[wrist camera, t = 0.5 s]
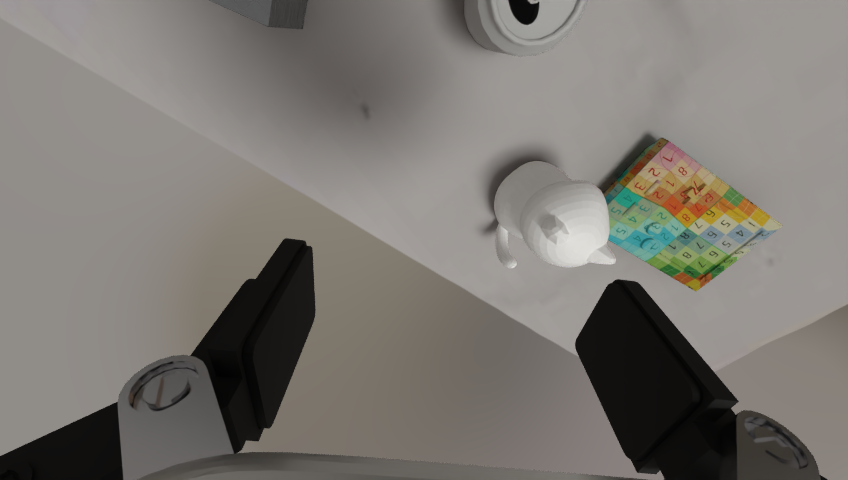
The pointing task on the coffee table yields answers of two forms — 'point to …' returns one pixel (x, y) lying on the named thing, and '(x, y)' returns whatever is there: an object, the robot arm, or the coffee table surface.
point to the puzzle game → (682, 216)
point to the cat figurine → (552, 217)
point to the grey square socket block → (270, 11)
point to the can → (521, 23)
